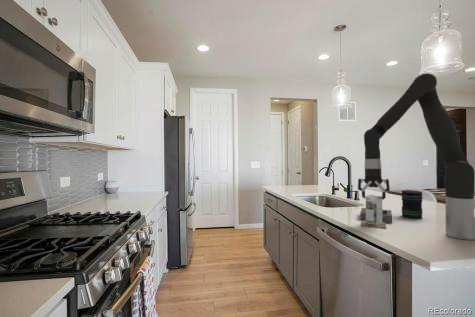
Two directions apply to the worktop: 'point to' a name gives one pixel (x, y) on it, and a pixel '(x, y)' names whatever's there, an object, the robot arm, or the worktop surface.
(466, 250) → the worktop surface
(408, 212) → the storage jar
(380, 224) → the walnut pad
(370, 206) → the syrup box
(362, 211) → the square-hole rail
